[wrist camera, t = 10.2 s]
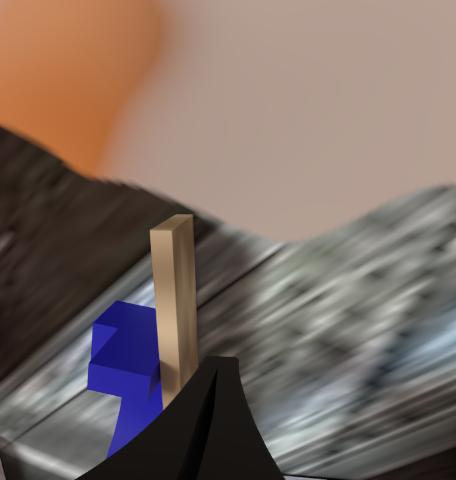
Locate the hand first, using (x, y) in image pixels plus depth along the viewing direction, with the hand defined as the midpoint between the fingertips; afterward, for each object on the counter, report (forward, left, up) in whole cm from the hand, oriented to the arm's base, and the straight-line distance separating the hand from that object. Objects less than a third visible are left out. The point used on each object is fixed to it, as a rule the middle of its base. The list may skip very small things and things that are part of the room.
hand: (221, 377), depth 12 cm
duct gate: (+3, +2, -7) cm, 8 cm away
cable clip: (+7, +7, -7) cm, 12 cm away
